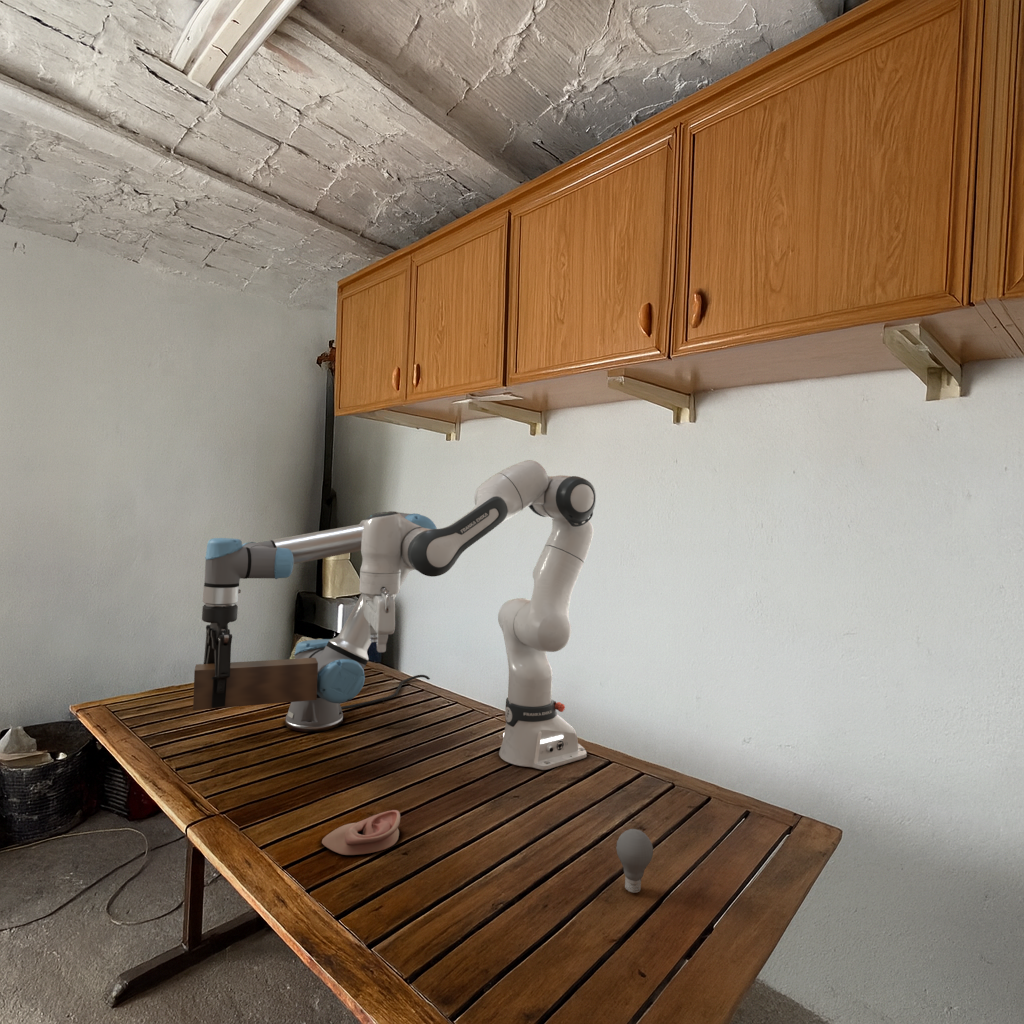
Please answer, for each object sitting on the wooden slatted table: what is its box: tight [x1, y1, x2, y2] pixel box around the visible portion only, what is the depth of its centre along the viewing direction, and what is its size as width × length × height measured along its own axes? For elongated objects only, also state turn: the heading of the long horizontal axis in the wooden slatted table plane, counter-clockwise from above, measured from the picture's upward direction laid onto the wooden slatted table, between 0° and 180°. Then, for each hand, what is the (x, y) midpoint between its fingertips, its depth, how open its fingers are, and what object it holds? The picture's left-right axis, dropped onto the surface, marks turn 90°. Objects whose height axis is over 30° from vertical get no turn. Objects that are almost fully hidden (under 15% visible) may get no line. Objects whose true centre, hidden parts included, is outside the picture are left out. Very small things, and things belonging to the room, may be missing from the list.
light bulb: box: [615, 828, 654, 894], centre depth 106 cm, size 6×6×10 cm
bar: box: [192, 658, 318, 711], centre depth 152 cm, size 27×6×9 cm, turn 114°
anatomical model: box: [321, 809, 401, 856], centre depth 118 cm, size 13×4×12 cm
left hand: (214, 701), depth 148 cm, fingers closed on bar, 6 cm apart
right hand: (377, 646), depth 141 cm, fingers open, 8 cm apart
